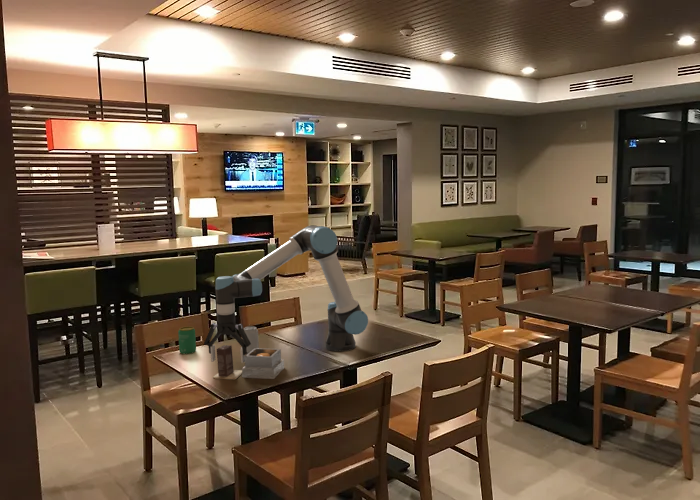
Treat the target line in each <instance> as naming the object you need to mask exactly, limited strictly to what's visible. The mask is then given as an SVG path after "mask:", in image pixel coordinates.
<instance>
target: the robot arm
mask: <svg viewBox="0 0 700 500" xmlns="http://www.w3.org/2000/svg"><path fill="white" fill-rule="evenodd" d="M337 244H338V236H337V235H336V233H335V231H334V230H333V229H331V228H329V227H327V226H323V225H315V224H313V225H311V224H310V225H307V226H306V227H304V228H302V229H301V230H299V231H298V232H296V233H295V234H293V235H292V236H290V237H289V240H287V242H285V243H284V244H282V245H280V246H279V247H278V248H276V249H275V250H273V251H272V252H270V253H269V254H267V255H266V256H264V257H263V258H261V259H260V260H258V261H256V262H255V263H254V264H253V265H251V266H249V267H247V269H245V270H243V271H242V272H240V273H236V274H233V275H231V276H229V275H225V276H224V275H223V276H218V277H217V278H216V279H215V288H214V289H215V300H216V313H217V314H216V317H217V318H216V322H217V323H215V322H213V323H211V324H210V325H209V326H210V327H209V331H208V333H207V336H206V338H205V340H204V344H203V345H204V346H208V353H209V354H210V361H211V362H214V361H216V345H215V343H216V342H217V339H219V337H220V336H221V335H223V336H225V335H227V336H231V337H233V338H234V339H235V340H236V341H237V343H238V344H239V346H240V348H239V349H240V363H241V364H245V356H246V355H247V354H248V353H247V347H248V346H249V345H251V343H250V341H249V339H248V337H247V335H246V333H245V331H244V325H243V323H239V324H237V323H236V313H235V310H236V308H235V306H236V305H235V299H240V298H248V297H249V298H251V297H253V298H254V297H259V296H261V294H262V292H263V284H262V281H261V280H262V279H264V278H265V277H266V276H268V275H270V274H271V273H273V272H274V271H276V270H277V269H278V268H280V267H282V266H283V265H284V264H286V263H287V262H289V261H291V260H292V259H293V258H295V257H296V256H298V255H300V256H301V255H303V254H304V253H306V252H309V251H310V252H311V254H312V257H313V260H315V261H317V262H319V265H320V267H321V270H322V272H323V275H324V278H325V280H326V283H327V285H328V288H329V289H330V293H331V296H332V297H333V300H334V301H331V302H328V305H327V321H328V322H327V324H328V325H327V326H328V327H327V329H328V333H327V337H326V339H325V344H324V348H325V349H326V350H327V351H332V352H333V351H334V352H347V351H351V350H354V349H356V346H357V345H356V340H355V337H354V335H355V336H356V335H360V334H361V333H363V332H364V331H365V330H366V329H367V326H368V324H369V317H368V315H367V314H366V312H365V311H363V310H362V308H361V305H360V303H359V301H358V300H355V299H354V296H353V293H352V291H351V289H350V286H349V283H348V281H347V278H346V276H345V274H344V271H343V269H342V266H341V263H340V260H339V258H338V255H337V253H338V251H339V248H338V245H337ZM216 329H217V330H218V331H217V332H216V334H214V332H215V330H216ZM237 330H238V331H237ZM238 332H239V333H238ZM213 334H214V337H213V338H212V336H213Z"/></svg>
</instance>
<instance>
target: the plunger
mask: <svg viewBox="0 0 700 500" xmlns="http://www.w3.org/2000/svg"><path fill="white" fill-rule="evenodd" d="M257 356H269V357H270V354H268V353H261V354H257Z"/></svg>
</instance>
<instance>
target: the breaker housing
mask: <svg viewBox="0 0 700 500" xmlns="http://www.w3.org/2000/svg"><path fill="white" fill-rule="evenodd" d="M281 350H282V349H281V348H261V347H259V348H254V349H253V350H252V351H251V352H249V353H247V354H246V355H245V362H244V366H243V367H242V368H241V370H242V374H241V377H242V378H246V379H247V378H248V379H265V380H266V379H267V380H269V379H270V380H274V379H275V378H277V376H278V375H280V373H281V372H282V371H283V370H284V369H285V359H282V351H281ZM261 353H268V354H270V357H269V356H257V354H261Z"/></svg>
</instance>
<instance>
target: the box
mask: <svg viewBox="0 0 700 500" xmlns="http://www.w3.org/2000/svg"><path fill="white" fill-rule="evenodd" d="M216 357H217V370H218V371H217V373H218V374H219V376H224V377H227V376H228V375H230V374H231V373H233V372H234V370H235V369H234V361H233V360H234V358H233V346H232V345H227V344H226V345H225V344H223V345H221V346H220V347H218V348H216Z"/></svg>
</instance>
